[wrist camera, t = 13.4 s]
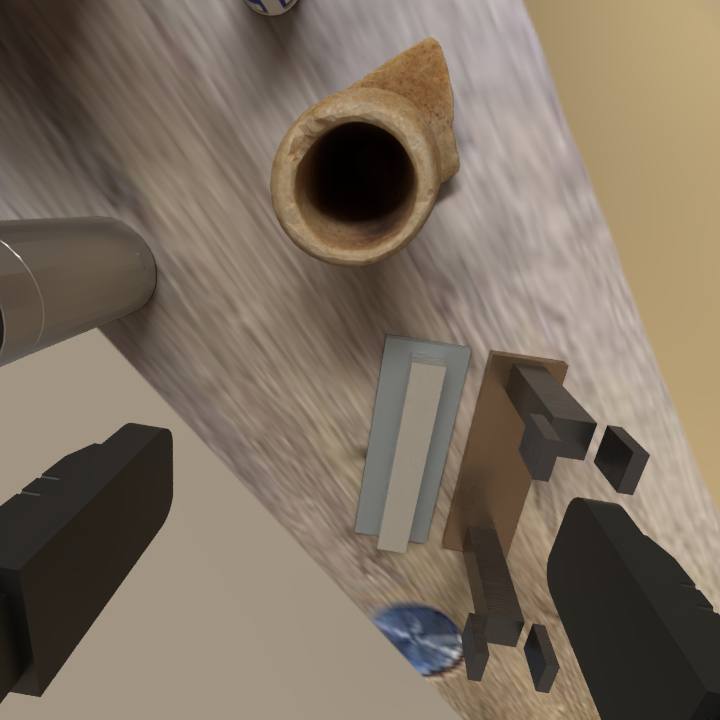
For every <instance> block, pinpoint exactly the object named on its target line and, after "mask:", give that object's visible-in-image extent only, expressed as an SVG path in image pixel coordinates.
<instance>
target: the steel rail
mask: <svg viewBox="0 0 720 720" xmlns="http://www.w3.org/2000/svg"><path fill="white" fill-rule="evenodd" d="M445 372H446V365H445V362H444V358H443V356H438V355H431V354H425V353H418V352H411V356H410V361H409V366H408V372H407V377H406V382H405V388H404V393H403V398H402V404H401V409H400V414H399V420H398V425H397V430H396V436H395V441H394V446H393V452H392V457H391V463H390V468H389V473H388V479H387V484H386V489H385V495H384V500H383V505H382V511H381V516H380V521H379V527H378V541H377V549H382V550H388V551H394V552H400V553H406V549H407V545H408V540H409V536H410V531H411V526H412V522H413V517H414V513H415V508H416V504H417V499H418V495H419V490H420V486H421V481H422V476H423V472H424V467H425V463H426V458H427V454H428V449H429V445H430V440H431V435H432V431H433V426H434V422H435V417H436V413H437V408H438V404H439V399H440V394H441V390H442V385H443V381H444V376H445Z"/></svg>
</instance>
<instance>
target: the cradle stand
mask: <svg viewBox="0 0 720 720" xmlns="http://www.w3.org/2000/svg"><path fill="white" fill-rule="evenodd" d="M567 369H568V365H567V364H566V363H565V362H564V361H559V360H553V359H546V358H540V357H533V356H526V355H520V354H513V353H506V352H500V351H493V350H490V353H489V357H488V361H487V365H486V369H485V373H484V377H483V381H482V385H481V389H480V393H479V397H478V401H477V405H476V409H475V413H474V417H473V421H472V425H471V429H470V433H469V437H468V441H467V444H466V448H465V452H464V456H463V460H462V464H461V468H460V472H459V476H458V480H457V484H456V488H455V492H454V496H453V500H452V504H451V508H450V512H449V516H448V520H447V524H446V528H445V532H444V535H443V539H442V541H443V548H447V549H454V550H460V551H463V553H464V558H465V563H466V568H467V573H468V578H469V583H470V588H471V593H472V599H473V604H474V609H475V614H473V613H469V615H468V618H467V621H466V625H465V628H464V631H463V635H462V645H463V651H464V658H465V664H466V671H467V677H468V680H473V681H479V682H480V681H481V678H482V676H483V673H484V670H485V667H486V664H487V661H488V658H489V651H488V646H487V642H488V643H494V644H500V645H506V646H512V647H516V644H517V642H518V639H519V636H520V633H521V631H522V628H523V625H524V618H523V615H522V612H521V609H520V606H519V602H518V599H517V596H516V593H515V590H514V586H513V583H512V580H511V577H510V573H509V570H508V567H507V564H506V561H505V558H507V555H508V552H509V548H510V545H511V542H512V539H513V536H514V533H515V530H516V527H517V524H518V521H519V517H520V514H521V511H522V508H523V505H524V502H525V499H526V496H527V493H528V490H529V487H530V483H531V480H532V479H534V480H541V481H547V482H548V481H549V478H550V475H551V472H552V469H553V466H554V463H555V461H556V458H557V456H558V457H565V458H571V459H577V460H584V459H585V456H586V453H587V450H588V448H589V445H590V442H591V439H592V437H593V434H594V431H595V428H596V426H597V423H596V422H595V421H594V419H593V418H592V417H591V416H590V415H589V414H588V413H587V412H586V411H585V410H584V409H583V408H582V406H581V405H580V404H579V403H578V402H577V401H576V400H575V399H574V398H573V397H572V396H571V395H570V393H569V392H568V391H567V390H566V389H565V388H564V387H563V386H562V384H563V381H564V378H565V375H566V372H567ZM649 456H650V454H649V453H648V452H646V451H645V450H644V449H643V448H642V447H641V446H640V445H639V444H638V443H637V442H636V441H635V440H634V439H633V438H632V437H631V436H630V435H629V434H628V433H627V432H626V431H625V430H624V429H623V428H622V427H616V426H610V425H607V428H606V430H605V433H604V436H603V438H602V441H601V444H600V446H599V449H598V452H597V454H596V457H595V460H594V463H595V465H596V466H597V467H598V468H599V470H600V471H601V472H602V474H603V475H604V476H605V477H606V479H607V480H608V481H609V483H610V484H611V485H612V487H613V488H614V489H615V490H616V492H617V493H623V494H629V495H633V494H634V491H635V489H636V487H637V484H638V482H639V479H640V477H641V475H642V472H643V470H644V468H645V465H646V463H647V461H648V458H649ZM524 652H525V655H526V659H527V662H528V666H529V669H530V672H531V676H532V679H533V683H534V686H535V690H536V691H538V692H544V693H549V691H550V689H551V686H552V684H553V682H554V679H555V677H556V675H557V672H558V670H559V668H560V667H559V664H558V661H557V658H556V655H555V653H554V650H553V647H552V644H551V641H550V639H549V636H548V633H547V630H546V627H545V625H539V624H533V625H532V627H531V630H530V633H529V635H528V638H527V641H526V643H525V646H524Z"/></svg>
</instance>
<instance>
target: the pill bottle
mask: <svg viewBox="0 0 720 720" xmlns="http://www.w3.org/2000/svg"><path fill="white" fill-rule="evenodd" d="M244 1H245V2H246V3H247V4H248V5H249V6H250V7H251V8H252V9H254V10H255V11H257V12H259V13H261V14H264V15H270V16H272V15H279V14H282V13H284V12H286V11H287V10H289V9H290V8H291V7H292V6H293V5H294V4H295V3H296V1H297V0H244Z"/></svg>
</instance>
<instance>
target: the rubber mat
mask: <svg viewBox="0 0 720 720" xmlns="http://www.w3.org/2000/svg"><path fill="white" fill-rule="evenodd" d="M411 352H418V353H425V354H431V355H438V356H443V358H444V362H445V365H446V372H445V376H444V381H443V385H442V390H441V394H440V399H439V404H438V408H437V413H436V417H435V422H434V426H433V431H432V435H431V440H430V445H429V449H428V454H427V458H426V463H425V467H424V472H423V476H422V481H421V486H420V490H419V495H418V499H417V504H416V508H415V513H414V517H413V522H412V526H411V531H410V536H409V540H408V541H412V542H419V543H426V539H427V535H428V531H429V527H430V522H431V518H432V514H433V510H434V505H435V501H436V497H437V493H438V489H439V484H440V480H441V476H442V472H443V467H444V463H445V459H446V455H447V450H448V446H449V442H450V438H451V434H452V429H453V425H454V421H455V417H456V412H457V408H458V404H459V400H460V396H461V391H462V387H463V383H464V379H465V374H466V370H467V366H468V362H469V358H470V353H471V349H470V347H467V346H460V345H454V344H447V343H440V342H434V341H427V340H420V339H414V338H407V337H401V336H394V335H387V334H386V340H385V346H384V353H383V359H382V365H381V371H380V377H379V383H378V389H377V396H376V402H375V408H374V414H373V420H372V426H371V432H370V439H369V445H368V451H367V457H366V463H365V469H364V475H363V482H362V488H361V494H360V500H359V506H358V512H357V518H356V525H355V532H357V533H363V534H369V535H375V536H378V527H379V521H380V516H381V511H382V505H383V500H384V495H385V489H386V484H387V479H388V473H389V468H390V463H391V457H392V452H393V446H394V441H395V436H396V430H397V425H398V420H399V414H400V409H401V404H402V398H403V393H404V388H405V382H406V377H407V372H408V366H409V361H410V356H411Z"/></svg>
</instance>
